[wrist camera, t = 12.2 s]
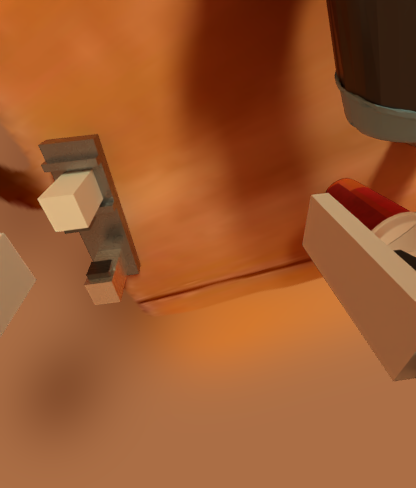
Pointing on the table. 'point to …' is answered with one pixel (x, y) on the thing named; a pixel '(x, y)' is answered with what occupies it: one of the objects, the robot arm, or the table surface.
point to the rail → (97, 217)
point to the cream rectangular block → (72, 201)
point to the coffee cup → (378, 214)
